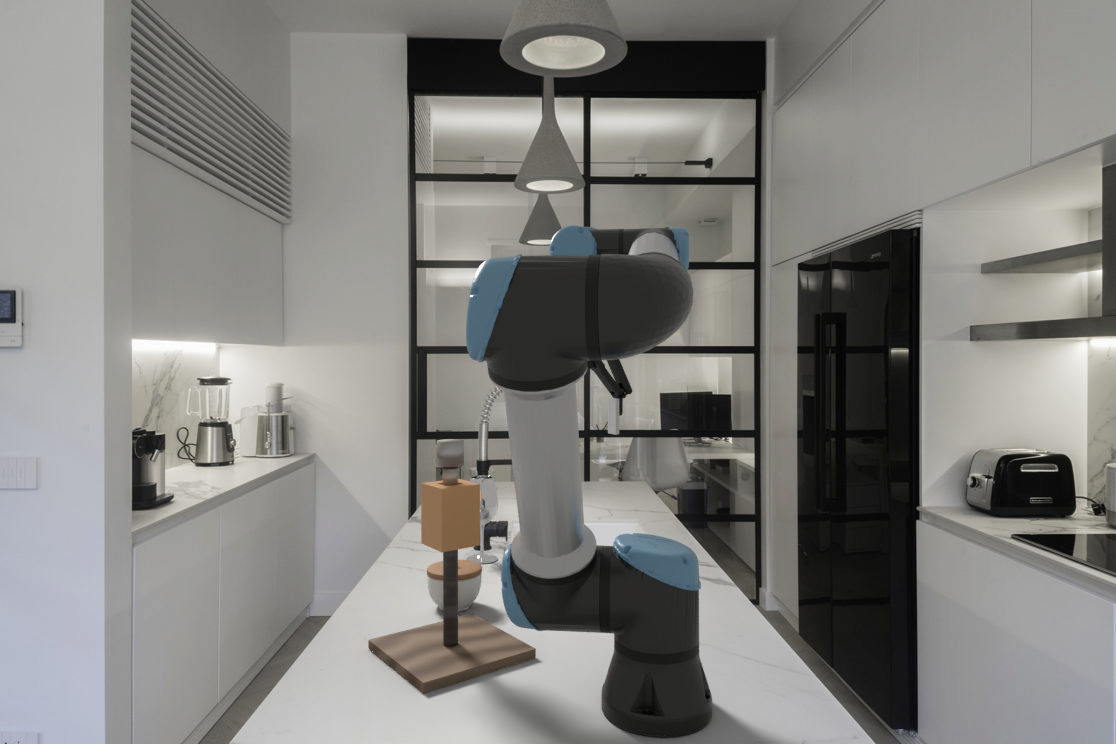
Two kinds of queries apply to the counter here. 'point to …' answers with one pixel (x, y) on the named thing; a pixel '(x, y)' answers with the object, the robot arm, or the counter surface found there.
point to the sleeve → (450, 515)
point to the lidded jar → (466, 583)
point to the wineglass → (485, 513)
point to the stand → (450, 624)
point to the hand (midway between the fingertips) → (581, 435)
